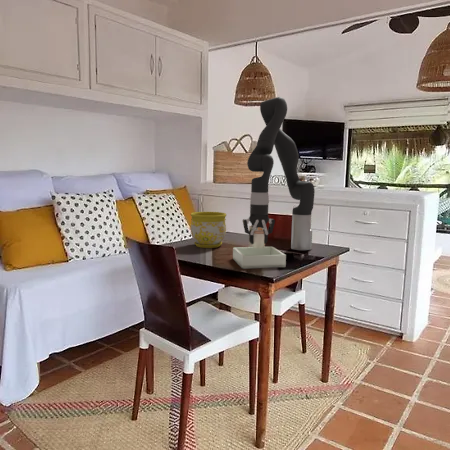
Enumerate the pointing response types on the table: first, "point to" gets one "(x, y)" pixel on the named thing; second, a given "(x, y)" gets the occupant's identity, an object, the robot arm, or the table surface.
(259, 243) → the dressing jar
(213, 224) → the flowerpot
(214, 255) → the table surface
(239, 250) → the bin
